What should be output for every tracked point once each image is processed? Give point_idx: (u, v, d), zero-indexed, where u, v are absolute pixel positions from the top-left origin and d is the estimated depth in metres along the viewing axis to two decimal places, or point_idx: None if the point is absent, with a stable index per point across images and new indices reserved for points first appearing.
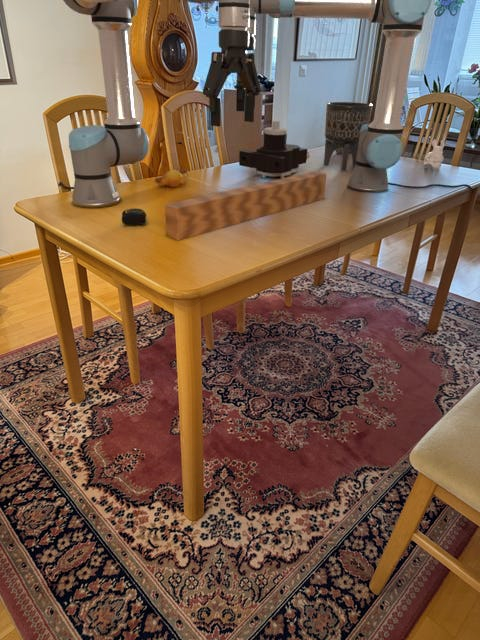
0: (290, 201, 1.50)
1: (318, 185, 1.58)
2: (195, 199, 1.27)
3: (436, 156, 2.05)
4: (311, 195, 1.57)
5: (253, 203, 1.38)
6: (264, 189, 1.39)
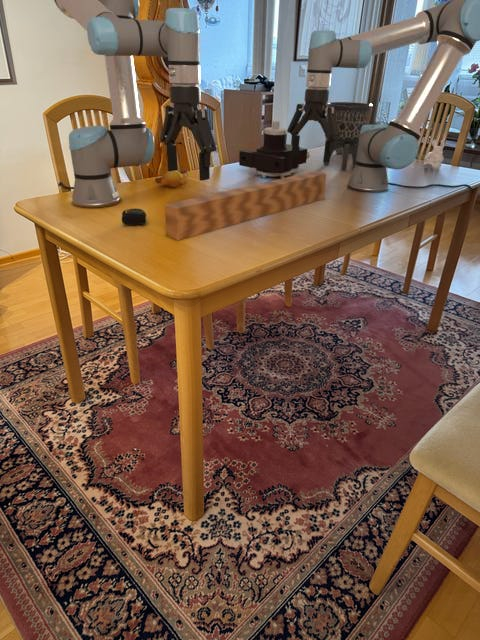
0: (290, 201, 1.50)
1: (318, 185, 1.58)
2: (195, 199, 1.27)
3: (436, 156, 2.05)
4: (311, 195, 1.57)
5: (253, 203, 1.38)
6: (264, 189, 1.39)
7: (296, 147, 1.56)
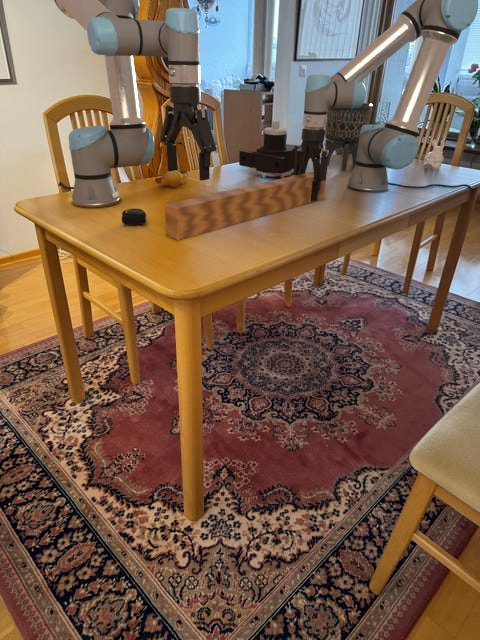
0: (290, 201, 1.50)
1: None
2: (195, 199, 1.27)
3: (436, 156, 2.05)
4: None
5: (253, 203, 1.38)
6: (264, 189, 1.39)
7: None
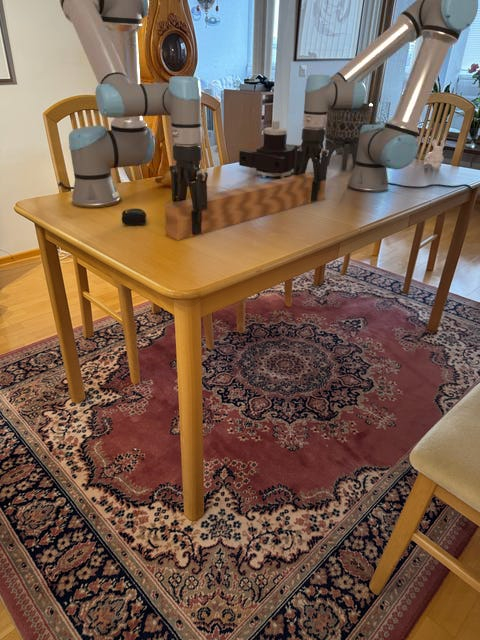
0: (290, 201, 1.50)
1: None
2: None
3: (436, 156, 2.05)
4: None
5: (253, 203, 1.38)
6: (264, 189, 1.39)
7: None
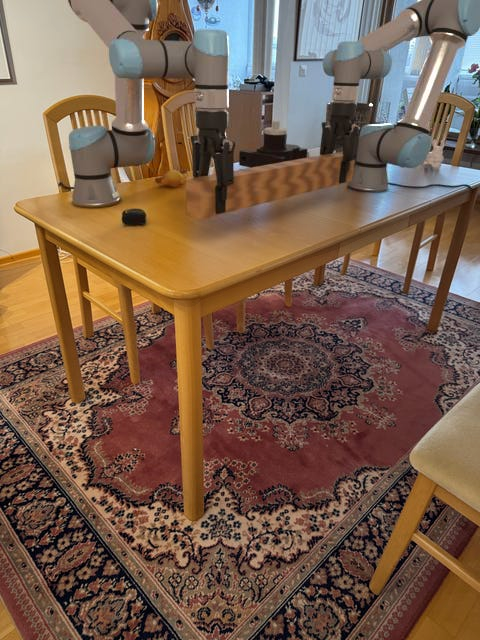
0: (318, 182, 1.37)
1: None
2: None
3: (436, 156, 2.05)
4: None
5: (280, 181, 1.25)
6: (292, 167, 1.26)
7: None
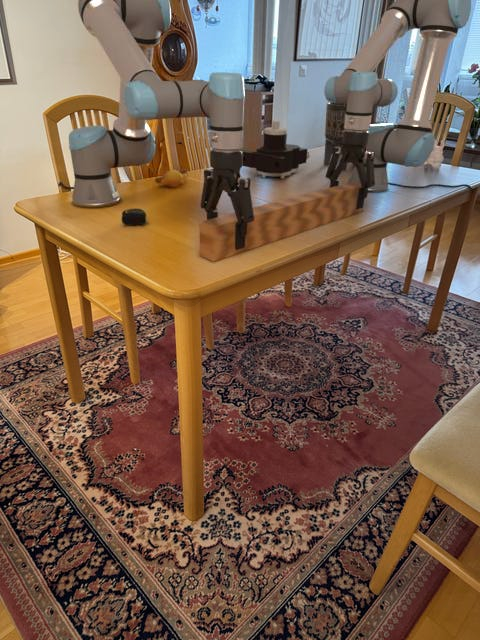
0: (329, 215, 1.38)
1: None
2: (231, 215, 1.14)
3: (436, 156, 2.05)
4: (350, 208, 1.45)
5: (291, 218, 1.26)
6: (303, 203, 1.27)
7: None
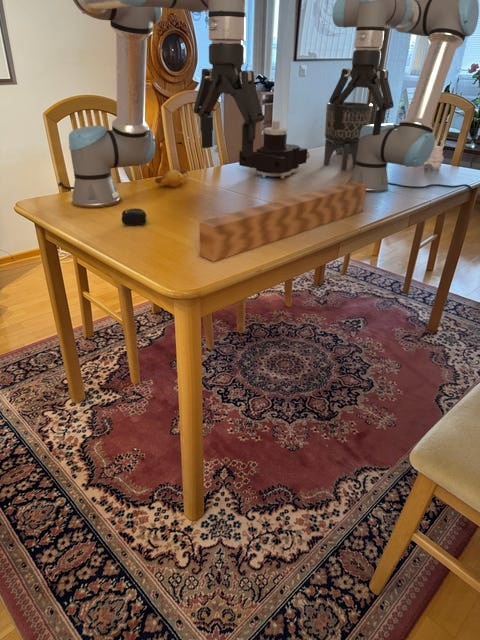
0: (329, 215, 1.38)
1: (358, 197, 1.45)
2: (231, 215, 1.14)
3: (436, 156, 2.05)
4: (350, 208, 1.45)
5: (291, 218, 1.26)
6: (303, 203, 1.27)
7: (339, 120, 1.38)
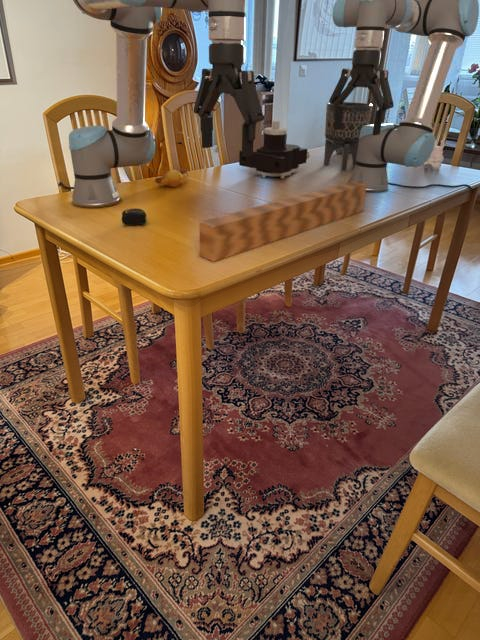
0: (329, 215, 1.38)
1: (358, 197, 1.45)
2: (231, 215, 1.14)
3: (436, 156, 2.05)
4: (350, 208, 1.45)
5: (291, 218, 1.26)
6: (303, 203, 1.27)
7: (339, 119, 1.38)
